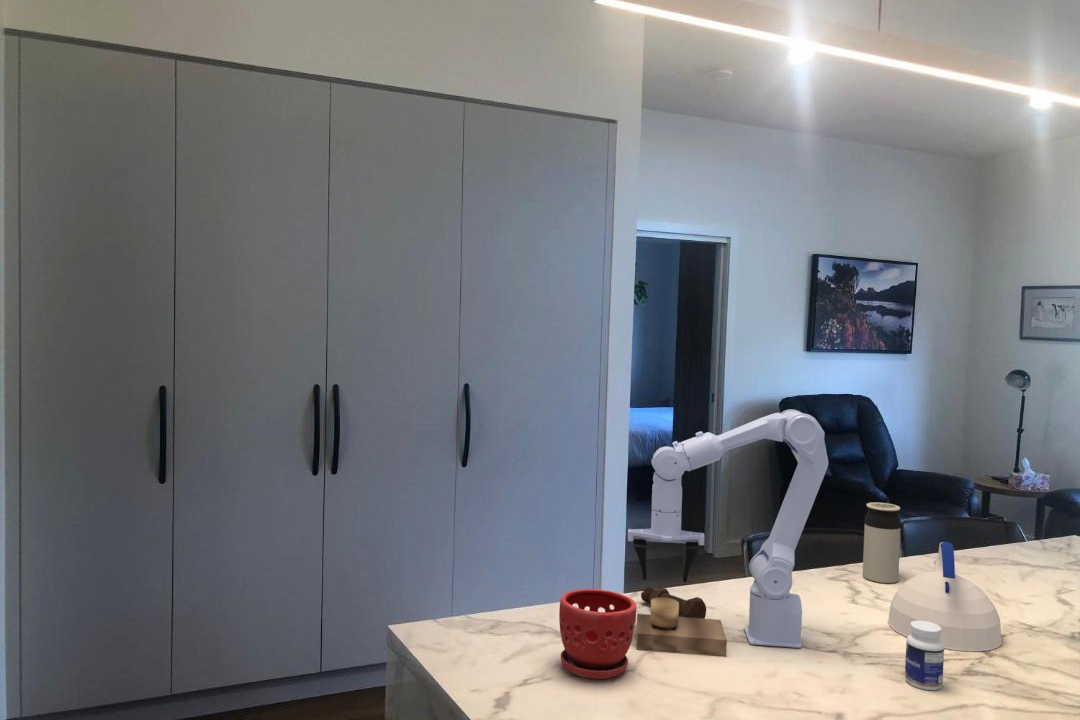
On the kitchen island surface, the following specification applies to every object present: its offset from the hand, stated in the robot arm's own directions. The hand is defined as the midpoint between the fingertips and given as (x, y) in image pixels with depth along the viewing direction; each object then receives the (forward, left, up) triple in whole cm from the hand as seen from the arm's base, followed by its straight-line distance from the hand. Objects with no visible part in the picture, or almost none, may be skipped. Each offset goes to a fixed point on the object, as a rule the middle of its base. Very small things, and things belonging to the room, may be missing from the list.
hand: (664, 579), depth 148 cm
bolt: (-2, -11, -11) cm, 16 cm away
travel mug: (-54, -45, -11) cm, 71 cm away
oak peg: (0, +5, -10) cm, 11 cm away
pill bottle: (-43, +14, -11) cm, 47 cm away
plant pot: (+12, +18, -11) cm, 24 cm away
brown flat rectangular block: (-3, +4, -10) cm, 12 cm away
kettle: (-56, -12, -11) cm, 58 cm away
